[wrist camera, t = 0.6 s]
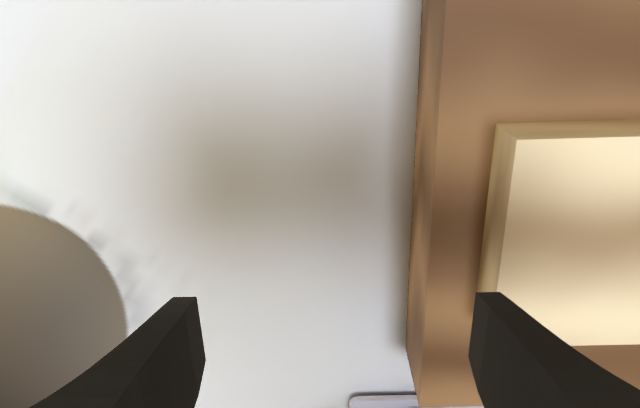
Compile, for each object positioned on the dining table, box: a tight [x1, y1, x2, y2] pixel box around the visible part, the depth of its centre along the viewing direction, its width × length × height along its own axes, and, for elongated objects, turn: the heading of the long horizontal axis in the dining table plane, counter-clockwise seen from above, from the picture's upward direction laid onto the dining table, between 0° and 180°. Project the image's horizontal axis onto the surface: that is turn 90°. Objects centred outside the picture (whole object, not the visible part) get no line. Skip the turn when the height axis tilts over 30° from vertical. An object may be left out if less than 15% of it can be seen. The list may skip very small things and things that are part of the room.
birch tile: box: [477, 119, 640, 346], centre depth 18 cm, size 8×6×2 cm
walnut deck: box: [406, 0, 640, 407], centre depth 20 cm, size 18×12×4 cm, turn 2°
